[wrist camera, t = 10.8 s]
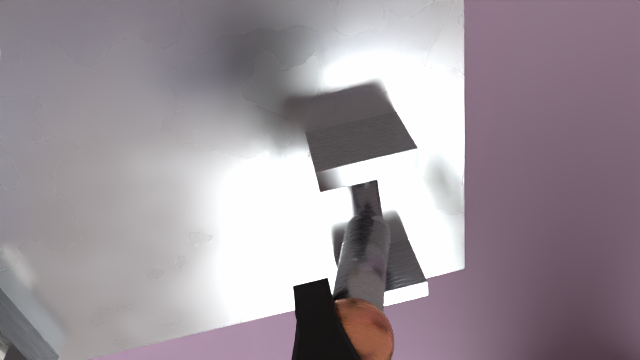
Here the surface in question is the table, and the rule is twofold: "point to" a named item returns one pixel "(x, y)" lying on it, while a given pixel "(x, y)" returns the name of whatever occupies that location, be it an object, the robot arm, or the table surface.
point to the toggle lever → (365, 276)
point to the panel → (215, 160)
